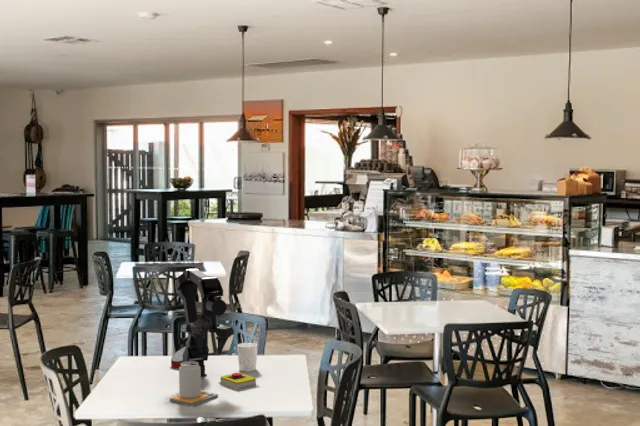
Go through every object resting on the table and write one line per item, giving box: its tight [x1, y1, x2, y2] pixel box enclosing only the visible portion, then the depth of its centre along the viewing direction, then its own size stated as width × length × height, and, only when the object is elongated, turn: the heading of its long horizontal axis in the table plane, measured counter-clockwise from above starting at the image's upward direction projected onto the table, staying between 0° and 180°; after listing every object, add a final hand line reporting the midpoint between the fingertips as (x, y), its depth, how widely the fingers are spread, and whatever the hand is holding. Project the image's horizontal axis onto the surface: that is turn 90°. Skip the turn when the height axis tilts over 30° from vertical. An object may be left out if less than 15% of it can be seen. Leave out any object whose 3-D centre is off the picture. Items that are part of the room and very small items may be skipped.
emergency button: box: [218, 372, 260, 392], centre depth 309 cm, size 9×4×15 cm
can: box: [178, 361, 202, 399], centre depth 289 cm, size 8×8×12 cm
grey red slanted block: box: [170, 345, 186, 370], centre depth 337 cm, size 11×10×10 cm
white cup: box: [237, 342, 258, 372], centre depth 331 cm, size 8×8×10 cm
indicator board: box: [169, 390, 219, 407], centre depth 291 cm, size 11×13×2 cm
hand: (209, 352), depth 306 cm, fingers open, 9 cm apart
